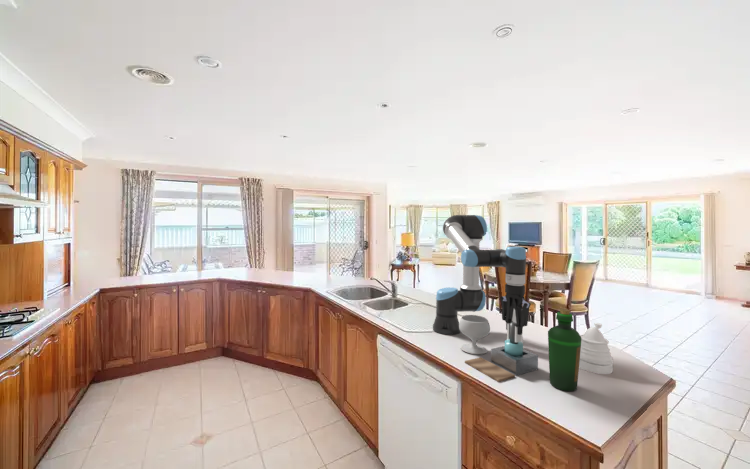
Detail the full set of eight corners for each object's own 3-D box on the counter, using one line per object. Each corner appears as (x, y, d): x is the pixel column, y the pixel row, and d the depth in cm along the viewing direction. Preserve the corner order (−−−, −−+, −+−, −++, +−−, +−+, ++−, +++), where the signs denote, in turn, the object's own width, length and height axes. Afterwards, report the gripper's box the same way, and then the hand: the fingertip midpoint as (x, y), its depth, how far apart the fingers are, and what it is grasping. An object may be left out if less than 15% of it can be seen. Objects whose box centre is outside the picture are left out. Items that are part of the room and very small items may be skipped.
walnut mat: (464, 362, 131) (464, 360, 131) (480, 359, 135) (480, 357, 135) (497, 382, 115) (497, 379, 115) (515, 377, 119) (515, 375, 119)
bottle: (588, 391, 109) (589, 312, 108) (564, 395, 106) (566, 314, 105) (561, 377, 119) (563, 305, 118) (539, 381, 116) (541, 307, 115)
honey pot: (593, 359, 136) (593, 318, 135) (620, 372, 123) (622, 328, 123) (567, 361, 134) (568, 320, 133) (593, 375, 121) (594, 329, 121)
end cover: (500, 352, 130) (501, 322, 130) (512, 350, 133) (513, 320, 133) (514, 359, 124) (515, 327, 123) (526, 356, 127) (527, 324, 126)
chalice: (474, 358, 136) (474, 324, 135) (452, 347, 148) (452, 316, 148) (496, 352, 142) (497, 320, 142) (473, 342, 155) (474, 312, 154)
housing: (491, 362, 131) (491, 348, 131) (512, 357, 137) (512, 344, 137) (515, 375, 120) (516, 360, 120) (537, 369, 125) (538, 355, 125)
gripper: (493, 281, 133) (492, 335, 134) (525, 288, 119) (524, 348, 119) (505, 280, 136) (504, 332, 137) (539, 287, 122) (537, 345, 122)
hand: (513, 340), depth 128 cm, fingers closed on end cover, 3 cm apart
